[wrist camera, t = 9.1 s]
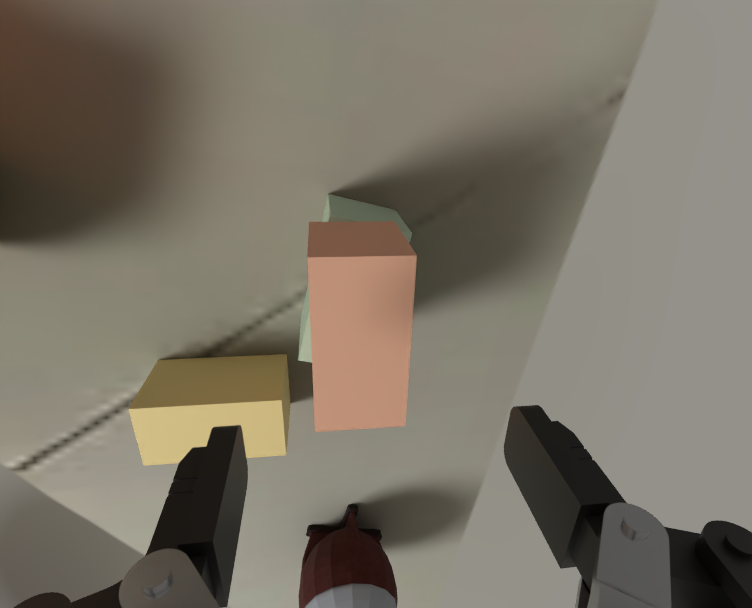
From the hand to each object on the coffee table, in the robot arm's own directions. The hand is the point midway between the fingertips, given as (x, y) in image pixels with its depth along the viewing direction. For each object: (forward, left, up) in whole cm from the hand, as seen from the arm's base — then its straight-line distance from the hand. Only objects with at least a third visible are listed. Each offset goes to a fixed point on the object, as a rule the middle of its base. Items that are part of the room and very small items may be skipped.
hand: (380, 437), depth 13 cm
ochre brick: (+8, -8, -15) cm, 19 cm away
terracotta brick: (0, 0, -10) cm, 10 cm away
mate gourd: (+23, 0, -15) cm, 28 cm away
